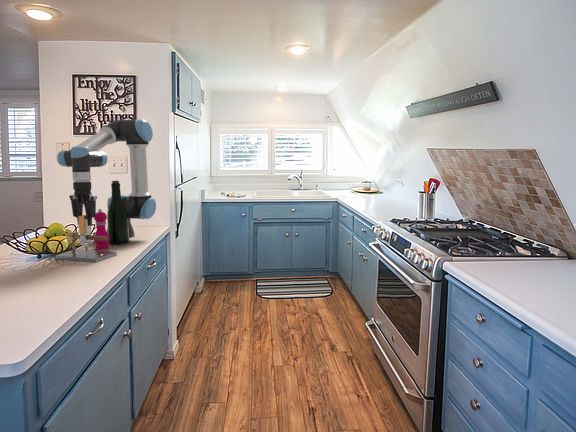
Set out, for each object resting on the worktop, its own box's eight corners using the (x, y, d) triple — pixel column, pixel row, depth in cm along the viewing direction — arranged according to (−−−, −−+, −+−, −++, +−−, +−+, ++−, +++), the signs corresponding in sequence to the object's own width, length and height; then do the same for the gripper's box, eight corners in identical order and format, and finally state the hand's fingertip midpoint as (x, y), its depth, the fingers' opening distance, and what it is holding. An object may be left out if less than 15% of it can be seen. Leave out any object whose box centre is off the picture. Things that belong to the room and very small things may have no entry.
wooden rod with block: (73, 251, 217) (72, 231, 216) (109, 254, 211) (108, 234, 210) (67, 253, 213) (65, 233, 212) (103, 256, 208) (102, 235, 206)
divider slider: (87, 251, 215) (84, 214, 212) (92, 251, 214) (90, 214, 211) (80, 253, 211) (78, 215, 209) (86, 253, 210) (83, 216, 208)
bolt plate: (77, 251, 223) (77, 248, 223) (116, 255, 216) (116, 251, 216) (55, 258, 210) (55, 255, 209) (96, 262, 203) (95, 258, 203)
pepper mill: (106, 250, 227) (104, 209, 224) (91, 250, 227) (89, 209, 224) (112, 246, 234) (110, 207, 231) (98, 246, 234) (95, 207, 231)
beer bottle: (125, 245, 238) (121, 181, 233) (104, 245, 238) (101, 181, 233) (132, 241, 248) (129, 179, 243) (113, 241, 248) (109, 179, 243)
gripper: (61, 181, 206) (65, 232, 210) (91, 182, 202) (94, 235, 205) (73, 180, 214) (77, 230, 217) (102, 181, 209) (105, 232, 212)
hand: (85, 232), depth 211 cm, fingers closed on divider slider, 3 cm apart
